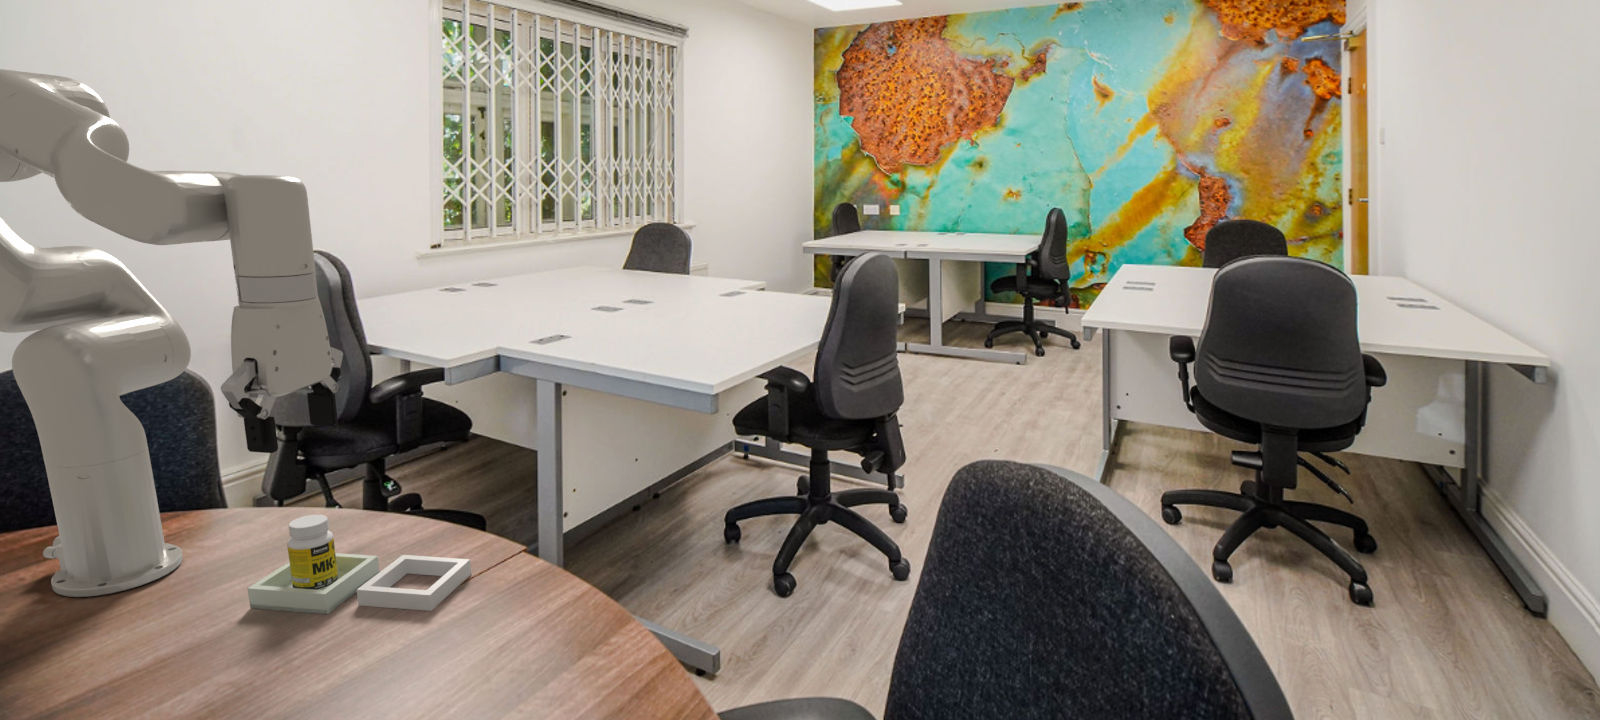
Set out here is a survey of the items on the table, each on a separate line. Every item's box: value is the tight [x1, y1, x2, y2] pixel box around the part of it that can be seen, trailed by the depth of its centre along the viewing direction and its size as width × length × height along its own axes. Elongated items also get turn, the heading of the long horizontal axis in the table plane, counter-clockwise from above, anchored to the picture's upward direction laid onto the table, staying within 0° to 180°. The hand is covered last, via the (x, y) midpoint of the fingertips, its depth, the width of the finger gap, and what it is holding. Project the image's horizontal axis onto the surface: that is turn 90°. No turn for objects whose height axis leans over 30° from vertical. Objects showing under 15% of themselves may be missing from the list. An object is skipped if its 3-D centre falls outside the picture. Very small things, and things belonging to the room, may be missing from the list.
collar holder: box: [356, 554, 472, 612], centre depth 99 cm, size 9×9×2 cm
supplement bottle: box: [286, 514, 338, 590], centre depth 97 cm, size 5×5×8 cm
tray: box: [247, 552, 381, 615], centre depth 98 cm, size 10×10×2 cm
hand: (295, 437), depth 94 cm, fingers open, 9 cm apart
